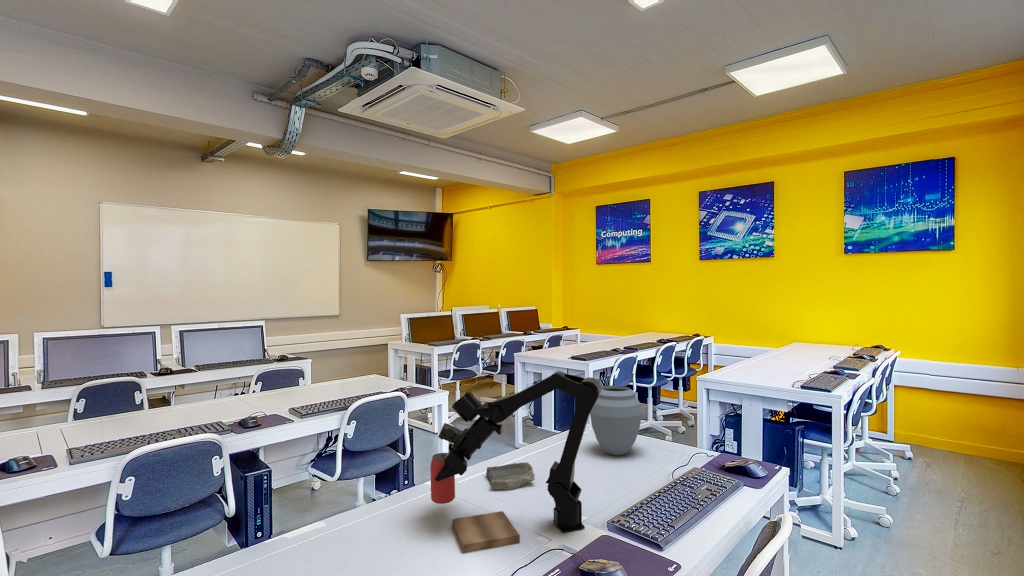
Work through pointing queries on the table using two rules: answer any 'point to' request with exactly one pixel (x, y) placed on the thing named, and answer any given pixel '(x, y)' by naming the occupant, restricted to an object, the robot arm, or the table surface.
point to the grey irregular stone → (510, 475)
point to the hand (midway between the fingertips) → (437, 475)
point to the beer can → (441, 482)
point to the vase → (616, 419)
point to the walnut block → (484, 531)
